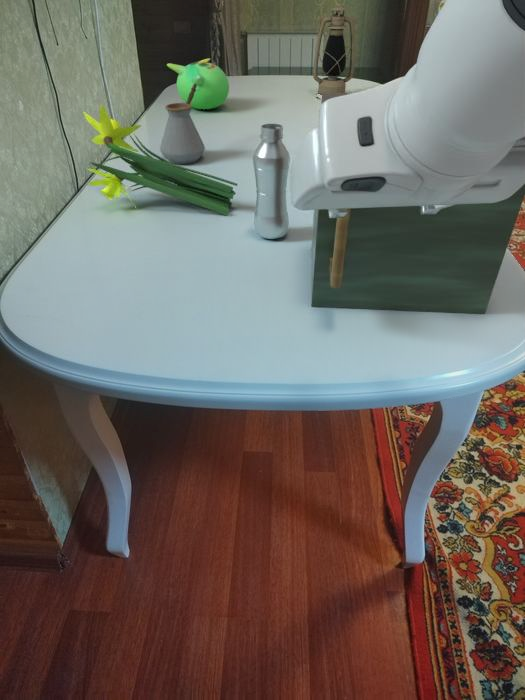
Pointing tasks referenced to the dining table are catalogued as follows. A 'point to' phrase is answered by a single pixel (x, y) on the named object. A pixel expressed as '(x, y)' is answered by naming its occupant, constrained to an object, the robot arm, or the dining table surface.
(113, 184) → the daffodil flowers
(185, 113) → the coffee pot
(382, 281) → the cupboard door
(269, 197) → the silver bottle
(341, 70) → the lantern
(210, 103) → the toy bird
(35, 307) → the dining table surface
